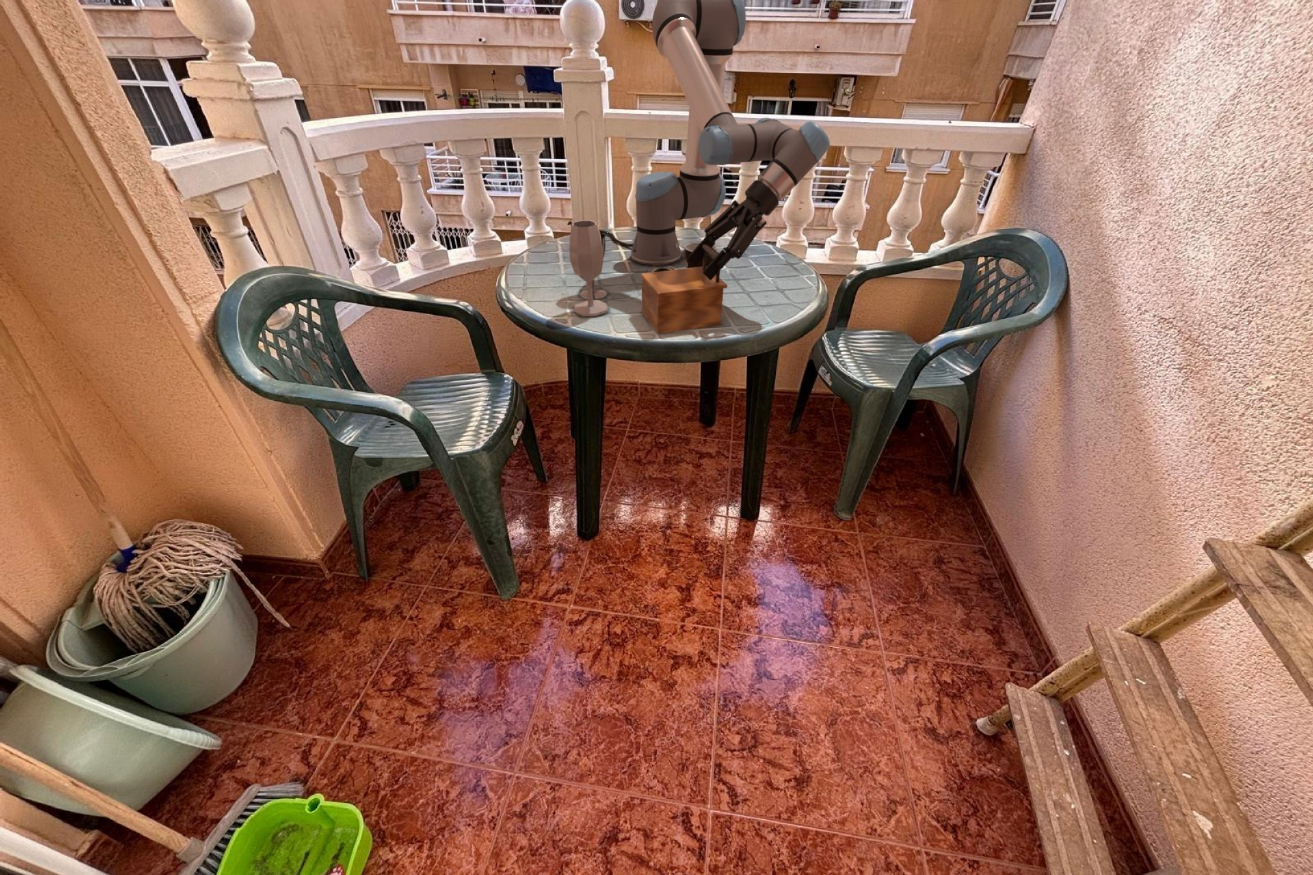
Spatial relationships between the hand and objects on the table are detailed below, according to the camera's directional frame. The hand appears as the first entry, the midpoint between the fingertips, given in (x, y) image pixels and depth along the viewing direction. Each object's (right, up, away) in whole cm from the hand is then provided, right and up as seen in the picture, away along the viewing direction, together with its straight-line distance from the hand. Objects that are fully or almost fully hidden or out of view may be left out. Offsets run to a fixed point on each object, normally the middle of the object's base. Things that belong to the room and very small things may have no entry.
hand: (698, 269), depth 124 cm
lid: (-4, -3, +1) cm, 5 cm away
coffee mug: (+2, +4, +25) cm, 25 cm away
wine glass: (-27, -1, +18) cm, 32 cm away
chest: (-4, -10, +6) cm, 12 cm away
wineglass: (-26, -7, +10) cm, 29 cm away
